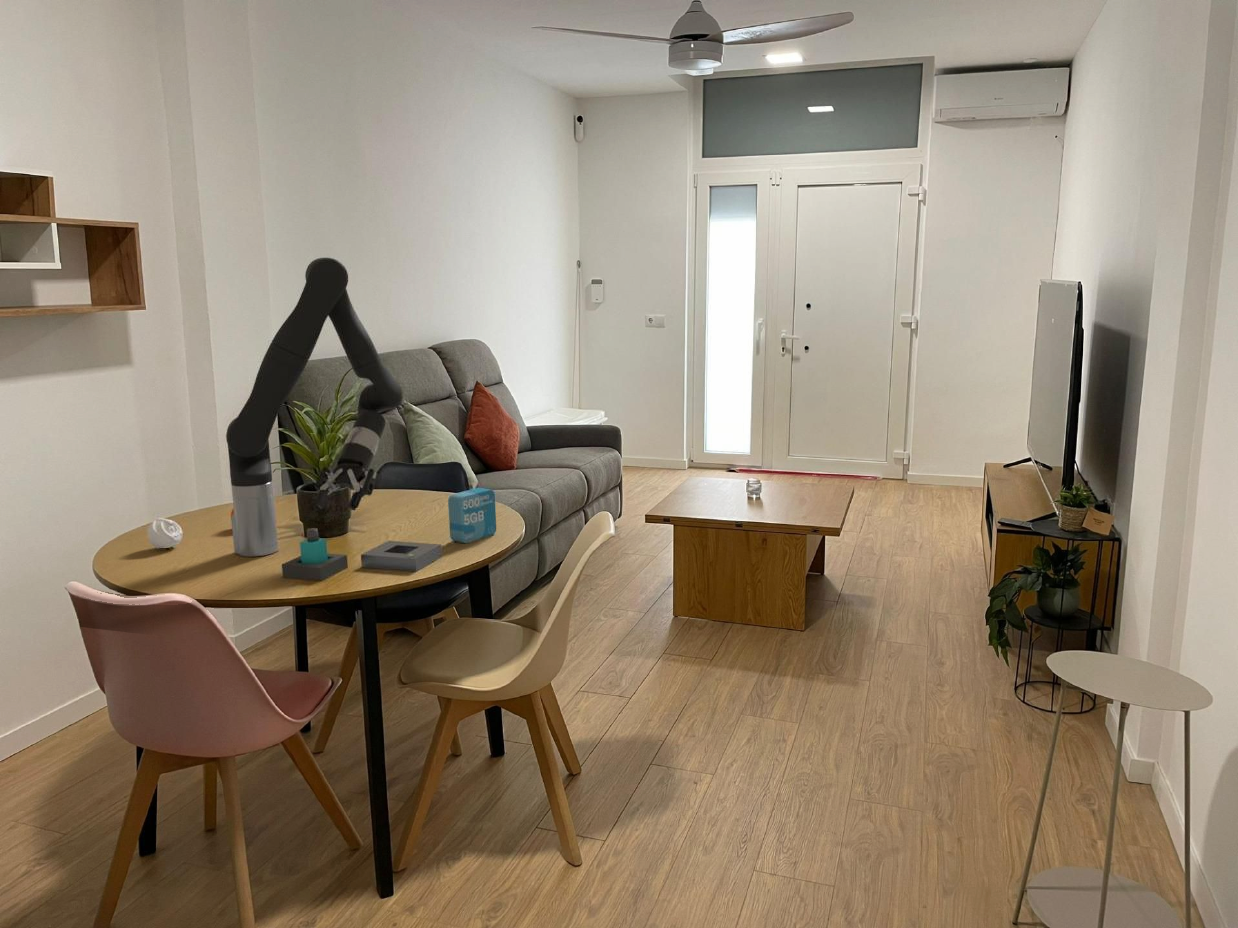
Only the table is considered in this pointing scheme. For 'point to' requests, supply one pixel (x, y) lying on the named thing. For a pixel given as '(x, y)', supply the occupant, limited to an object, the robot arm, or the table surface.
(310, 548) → the plug
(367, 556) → the port block
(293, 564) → the holster
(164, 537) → the motion sensor
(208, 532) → the table surface
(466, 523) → the data package
